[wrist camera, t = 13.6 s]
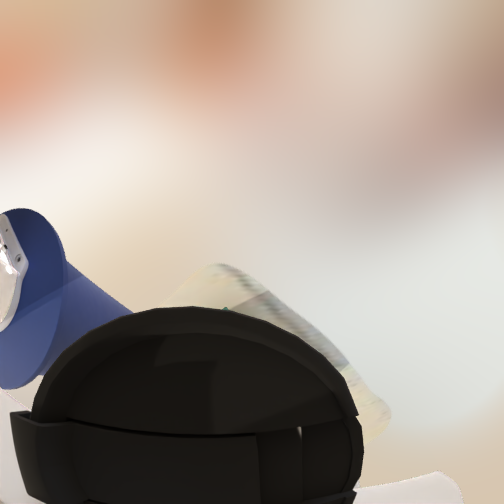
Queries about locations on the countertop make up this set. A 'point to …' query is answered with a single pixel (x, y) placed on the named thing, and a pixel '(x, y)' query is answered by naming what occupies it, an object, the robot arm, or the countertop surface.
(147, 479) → the travel mug
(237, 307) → the countertop surface
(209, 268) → the countertop surface
